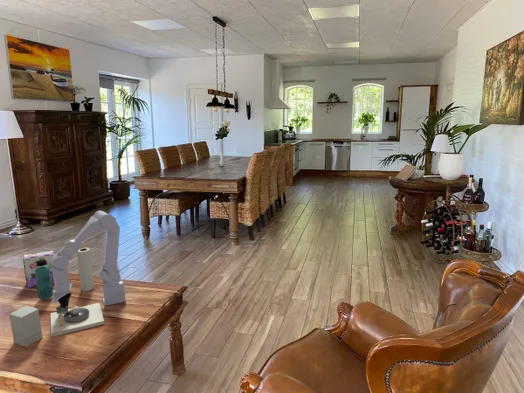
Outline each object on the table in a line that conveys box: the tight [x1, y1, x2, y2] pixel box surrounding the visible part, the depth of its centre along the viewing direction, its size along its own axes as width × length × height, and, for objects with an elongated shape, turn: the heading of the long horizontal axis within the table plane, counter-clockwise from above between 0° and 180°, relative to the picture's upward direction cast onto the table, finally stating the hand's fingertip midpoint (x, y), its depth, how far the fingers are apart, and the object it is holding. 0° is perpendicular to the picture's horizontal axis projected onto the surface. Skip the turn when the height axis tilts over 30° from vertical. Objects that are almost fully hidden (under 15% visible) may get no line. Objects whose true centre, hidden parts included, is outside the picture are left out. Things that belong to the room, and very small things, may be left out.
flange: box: [55, 304, 89, 323], centre depth 165 cm, size 14×10×4 cm
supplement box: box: [9, 305, 43, 348], centre depth 150 cm, size 7×7×13 cm
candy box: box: [22, 250, 55, 289], centre depth 199 cm, size 14×6×16 cm, turn 117°
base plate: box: [50, 302, 105, 338], centre depth 165 cm, size 20×18×6 cm
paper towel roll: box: [76, 246, 95, 292], centre depth 193 cm, size 7×6×21 cm
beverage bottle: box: [35, 260, 54, 300], centre depth 182 cm, size 6×7×20 cm
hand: (65, 309), depth 167 cm, fingers closed
